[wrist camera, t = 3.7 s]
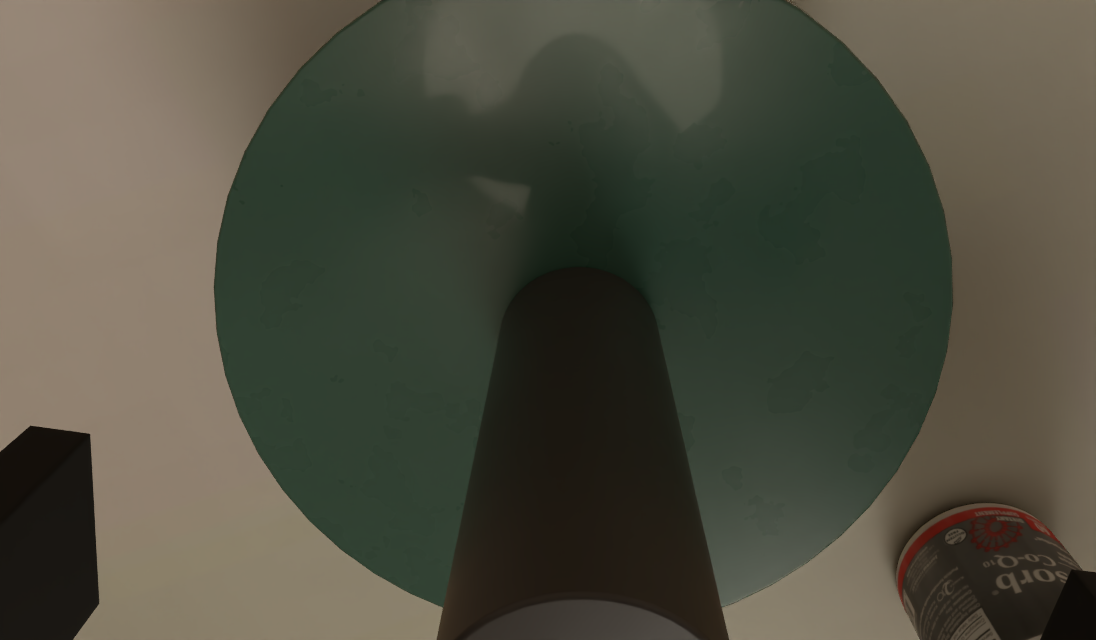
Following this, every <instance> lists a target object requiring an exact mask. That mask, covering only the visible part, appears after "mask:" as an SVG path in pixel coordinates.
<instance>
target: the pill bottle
mask: <svg viewBox="0 0 1096 640" xmlns="http://www.w3.org/2000/svg"><path fill="white" fill-rule="evenodd" d="M1071 569H1074V570H1081V571H1083V570H1082V569H1081V567H1080V566H1079V565H1078V564H1077V563H1076V561H1075V560H1074V559H1073V558H1072V556H1071V555H1070V554H1069V552H1068V551H1067V550H1066V549H1065V548H1064V546H1063V545H1062V544H1061V543H1060V541H1059V540H1058V539H1057V538H1056V537H1055V535H1054V534H1053V533H1052V532H1051V531H1050V530H1049V529H1048V528H1047V527H1046V526H1045V525H1044V524H1043V523H1042V522H1041V521H1039V520H1038V519H1037V518H1035V517H1034V516H1032V515H1030V514H1029V513H1027V512H1025V511H1023V510H1020V509H1018V508H1015V507H1012V506H1008V505H1003V504H996V503H977V504H970V505H965V506H960V507H957V508H954V509H951V510H949V511H946V512H944V513H942V514H940V515H938V516H936V517H935V518H933V519H931V520H930V521H929V522H927V523H926V524H924V525H923V526H922V527H921V528H920V529H919V530H918V531H917V532H916V533H915V534H914V535H913V536H912V537H911V538H910V540H909V541H908V542H907V544H906V546H905V547H904V549H903V551H902V553H901V556H900V558H899V562H898V566H897V572H896V583H897V589H898V593H899V596H900V599H901V602H902V604H903V606H904V609H905V611H906V613H907V615H908V616H909V618H910V621H911V622H912V624H913V626H914V628H915V631H916V633H917V635H918V637H919V639H920V640H1040V638H1041V636H1042V634H1043V632H1044V629H1045V627H1046V625H1047V623H1048V621H1049V618H1050V616H1051V614H1052V612H1053V609H1054V607H1055V605H1056V603H1057V600H1058V598H1059V596H1060V594H1061V591H1062V589H1063V587H1064V585H1065V583H1066V580H1067V578H1068V576H1069V574H1070V571H1071Z"/></svg>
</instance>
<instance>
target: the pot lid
mask: <svg viewBox="0 0 1096 640" xmlns="http://www.w3.org/2000/svg"><path fill="white" fill-rule="evenodd" d="M214 297H215V313H216V330H217V336H218V341H219V346H220V351H221V356H222V361H223V366H224V371H225V376H226V378H227V381H228V384H229V387H230V390H231V393H232V396H233V399H234V401H235V404H236V407H237V410H238V413H239V416H240V418H241V420H242V422H243V424H244V426H245V428H246V430H247V432H248V434H249V436H250V438H251V440H252V442H253V444H254V446H255V448H256V450H257V452H258V454H259V455H260V457H261V458H262V460H263V461H264V463H265V464H266V466H267V467H268V469H269V470H270V472H271V473H272V475H273V476H274V478H275V479H276V481H277V482H278V484H279V485H280V487H281V488H282V490H283V491H284V492H285V493H286V494H287V495H288V497H289V498H290V499H291V500H292V501H293V502H294V503H295V505H296V506H297V507H298V508H299V509H300V510H301V512H302V513H303V514H304V515H305V516H306V517H307V518H308V520H309V521H310V522H311V523H312V524H314V525H315V526H316V527H317V528H318V529H319V530H320V531H321V532H322V533H323V534H324V535H326V536H327V537H328V538H329V539H330V540H331V541H332V542H333V543H334V544H335V545H337V546H338V547H339V548H340V549H341V550H342V551H344V552H345V553H347V554H348V555H349V556H351V557H352V558H354V559H355V560H356V561H358V562H359V563H361V564H362V565H363V566H365V567H366V568H367V569H369V570H370V571H372V572H373V573H374V574H376V575H378V576H380V577H382V578H383V579H385V580H387V581H389V582H391V583H392V584H394V585H396V586H398V587H399V588H401V589H403V590H405V591H407V592H408V593H410V594H412V595H415V596H417V597H419V598H422V599H424V600H426V601H429V602H431V603H434V604H436V605H438V606H441V607H443V611H442V616H441V621H440V626H439V631H438V636H437V640H729V638H728V633H727V629H726V624H725V620H724V616H723V611H722V607H725V606H727V605H730V604H733V603H735V602H737V601H739V600H741V599H744V598H746V597H748V596H750V595H752V594H754V593H756V592H758V591H760V590H762V589H764V588H766V587H769V586H771V585H772V584H774V583H776V582H777V581H779V580H780V579H782V578H784V577H785V576H787V575H788V574H790V573H791V572H793V571H795V570H796V569H798V568H799V567H801V566H803V565H804V564H806V563H807V562H809V561H810V560H811V559H812V558H814V557H815V556H816V555H817V554H819V553H820V552H821V551H822V550H824V549H825V548H826V547H827V546H829V545H830V544H831V543H832V542H834V541H835V540H836V539H837V538H839V537H840V536H841V535H842V534H843V533H844V532H845V531H846V530H847V529H848V528H849V527H850V526H851V525H852V524H853V523H854V522H855V521H856V520H857V519H858V518H859V517H860V516H861V515H862V514H863V513H864V512H865V511H866V510H867V508H868V507H869V506H870V505H871V504H872V503H873V501H874V500H875V499H876V498H877V496H878V495H879V494H880V492H881V491H882V490H883V488H884V487H885V486H886V485H887V483H888V482H889V481H890V479H891V478H892V477H893V475H894V474H895V473H896V472H897V470H898V468H899V466H900V465H901V463H902V461H903V460H904V458H905V456H906V454H907V453H908V451H909V449H910V448H911V446H912V444H913V442H914V441H915V439H916V437H917V436H918V434H919V432H920V429H921V427H922V424H923V422H924V420H925V417H926V415H927V413H928V410H929V408H930V405H931V403H932V401H933V398H934V396H935V393H936V390H937V386H938V382H939V379H940V375H941V371H942V368H943V364H944V360H945V356H946V353H947V348H948V340H949V331H950V323H951V315H952V307H953V287H952V255H951V249H950V243H949V237H948V232H947V226H946V220H945V214H944V209H943V206H942V203H941V200H940V197H939V194H938V191H937V188H936V185H935V182H934V179H933V175H932V172H931V169H930V166H929V164H928V162H927V160H926V158H925V156H924V154H923V152H922V150H921V148H920V146H919V144H918V142H917V140H916V138H915V136H914V134H913V132H912V130H911V128H910V126H909V124H908V122H907V120H906V119H905V117H904V116H903V114H902V113H901V112H900V110H899V109H898V107H897V106H896V104H895V103H894V102H893V100H892V99H891V97H890V96H889V94H888V93H887V92H886V90H885V89H884V87H883V86H882V84H881V83H880V82H879V80H878V79H877V78H876V77H875V76H874V75H873V74H872V73H871V71H870V70H869V69H868V68H867V67H866V66H865V65H864V64H863V63H862V62H861V61H860V60H859V59H858V58H857V57H856V56H855V55H854V54H853V53H852V52H851V50H850V49H849V48H848V47H847V46H846V45H845V44H844V43H843V42H842V41H841V40H839V39H838V38H837V37H836V36H834V35H833V34H832V33H830V32H829V31H828V30H827V29H825V28H824V27H823V26H822V25H820V24H819V23H818V22H816V21H815V20H814V19H813V18H811V17H810V16H809V15H807V14H806V13H805V12H804V11H802V10H801V9H800V8H798V7H796V6H794V5H793V4H791V3H789V2H787V1H786V0H382V1H380V2H379V3H377V4H376V5H374V6H373V7H372V8H370V9H369V10H367V11H366V12H365V13H363V14H362V15H361V16H359V17H358V18H356V19H355V20H354V21H352V22H351V23H349V24H348V25H347V26H345V27H344V28H343V29H341V30H340V31H338V32H337V33H336V34H335V35H334V36H333V37H332V38H331V39H330V40H329V41H328V42H327V43H326V44H325V45H323V46H322V47H321V48H320V49H319V50H318V51H317V52H316V53H315V54H314V55H313V56H312V57H311V58H310V59H309V60H308V61H307V62H306V63H305V64H304V65H303V66H302V67H301V68H300V69H299V70H298V71H297V73H296V74H295V75H294V76H293V78H292V79H291V80H290V82H289V83H288V84H287V86H286V87H285V88H284V89H283V91H282V92H281V93H280V95H279V96H278V97H277V99H276V100H275V101H274V102H273V104H272V105H271V106H270V108H269V109H268V111H267V113H266V114H265V116H264V118H263V120H262V122H261V123H260V125H259V127H258V129H257V130H256V132H255V134H254V136H253V138H252V139H251V141H250V143H249V145H248V147H247V148H246V150H245V152H244V155H243V157H242V160H241V162H240V165H239V168H238V170H237V173H236V176H235V178H234V181H233V183H232V186H231V189H230V191H229V194H228V197H227V201H226V206H225V210H224V214H223V219H222V223H221V228H220V232H219V237H218V241H217V253H216V266H215V279H214Z"/></svg>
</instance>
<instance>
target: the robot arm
mask: <svg viewBox="0 0 1096 640" xmlns="http://www.w3.org/2000/svg"><path fill="white" fill-rule="evenodd" d="M98 604H99V591H98V572H97V554H96V535H95V516H94V498H93V479H92V460H91V442H90V434H87V433H80V432H72V431H65V430H58V429H51V428H43V427H36V426H30V427H29V428H27V429H26V430H25V431H24V432H23V433H22V434H20V435H19V436H18V437H17V438H16V439H15V440H13V441H12V442H11V443H10V444H9V445H8V446H7V447H5V448H4V449H3V450H2V451H1V452H0V640H73V639H74V637H75V636H76V635H77V633H78V632H79V630H80V629H81V628H82V626H83V625H84V624H85V622H86V621H87V619H88V618H89V617H90V615H91V614H92V613H93V611H94V610H95V609H96V607H97V606H98ZM1040 640H1096V573H1095V572H1088V571H1081V570H1074V569H1071V571H1070V574H1069V576H1068V578H1067V580H1066V583H1065V585H1064V587H1063V589H1062V591H1061V594H1060V596H1059V598H1058V600H1057V603H1056V605H1055V607H1054V609H1053V612H1052V614H1051V616H1050V618H1049V621H1048V623H1047V625H1046V627H1045V629H1044V632H1043V634H1042V636H1041V638H1040Z"/></svg>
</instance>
